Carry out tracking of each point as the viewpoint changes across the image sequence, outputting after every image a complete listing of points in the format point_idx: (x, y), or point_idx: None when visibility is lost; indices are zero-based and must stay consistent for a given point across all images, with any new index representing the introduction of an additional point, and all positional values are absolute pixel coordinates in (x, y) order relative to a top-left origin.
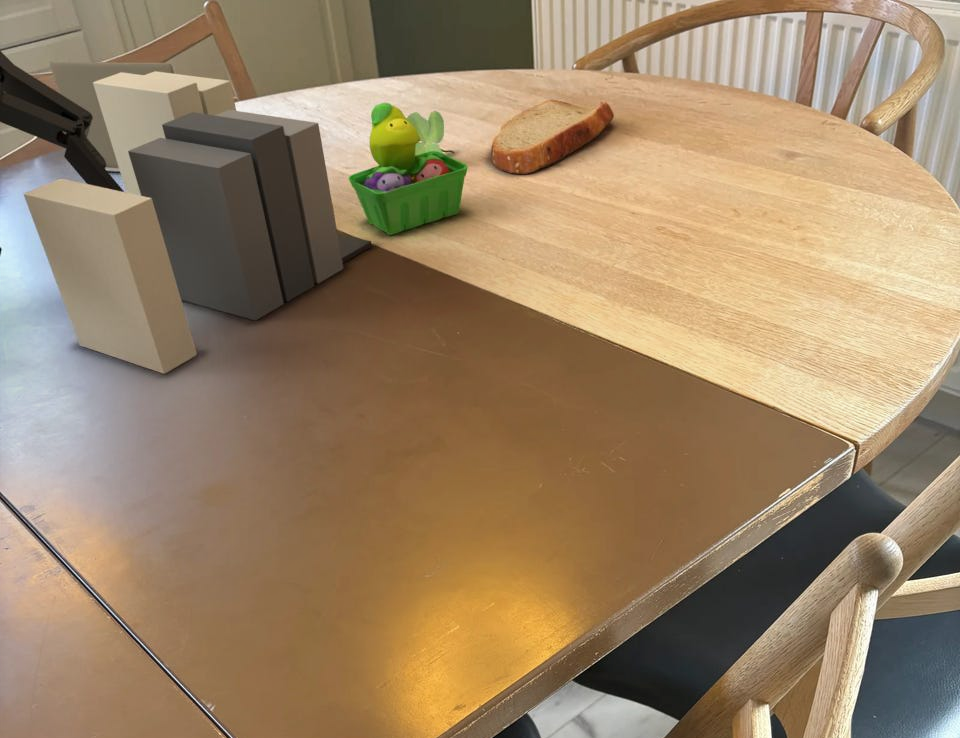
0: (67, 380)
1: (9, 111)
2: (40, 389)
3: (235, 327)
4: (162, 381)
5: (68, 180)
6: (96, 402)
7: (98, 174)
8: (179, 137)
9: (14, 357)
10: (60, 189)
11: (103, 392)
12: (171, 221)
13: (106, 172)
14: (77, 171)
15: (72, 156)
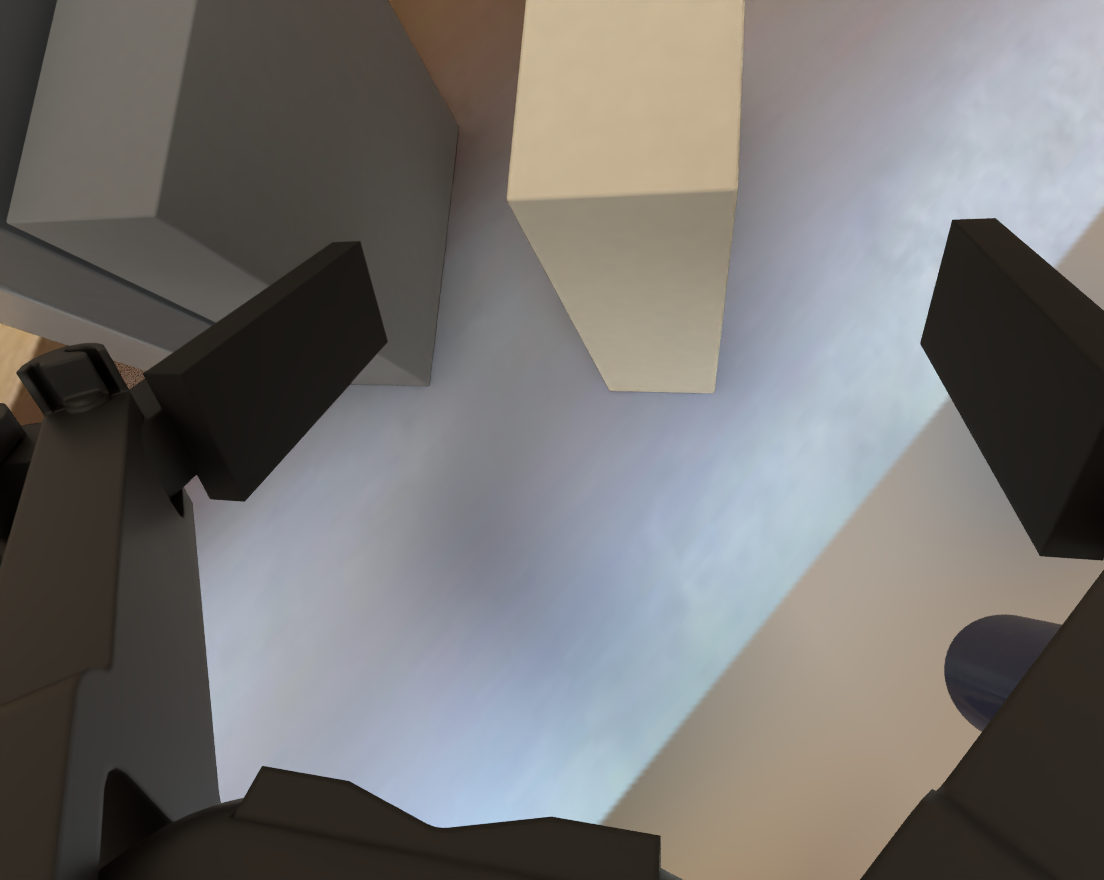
0: (857, 278)
1: (147, 659)
2: (925, 301)
3: (496, 142)
4: (751, 88)
5: (518, 135)
6: (896, 135)
7: (308, 298)
8: (2, 136)
9: (841, 509)
10: (622, 65)
11: (854, 158)
12: (334, 207)
13: (285, 278)
14: (292, 443)
15: (250, 426)
